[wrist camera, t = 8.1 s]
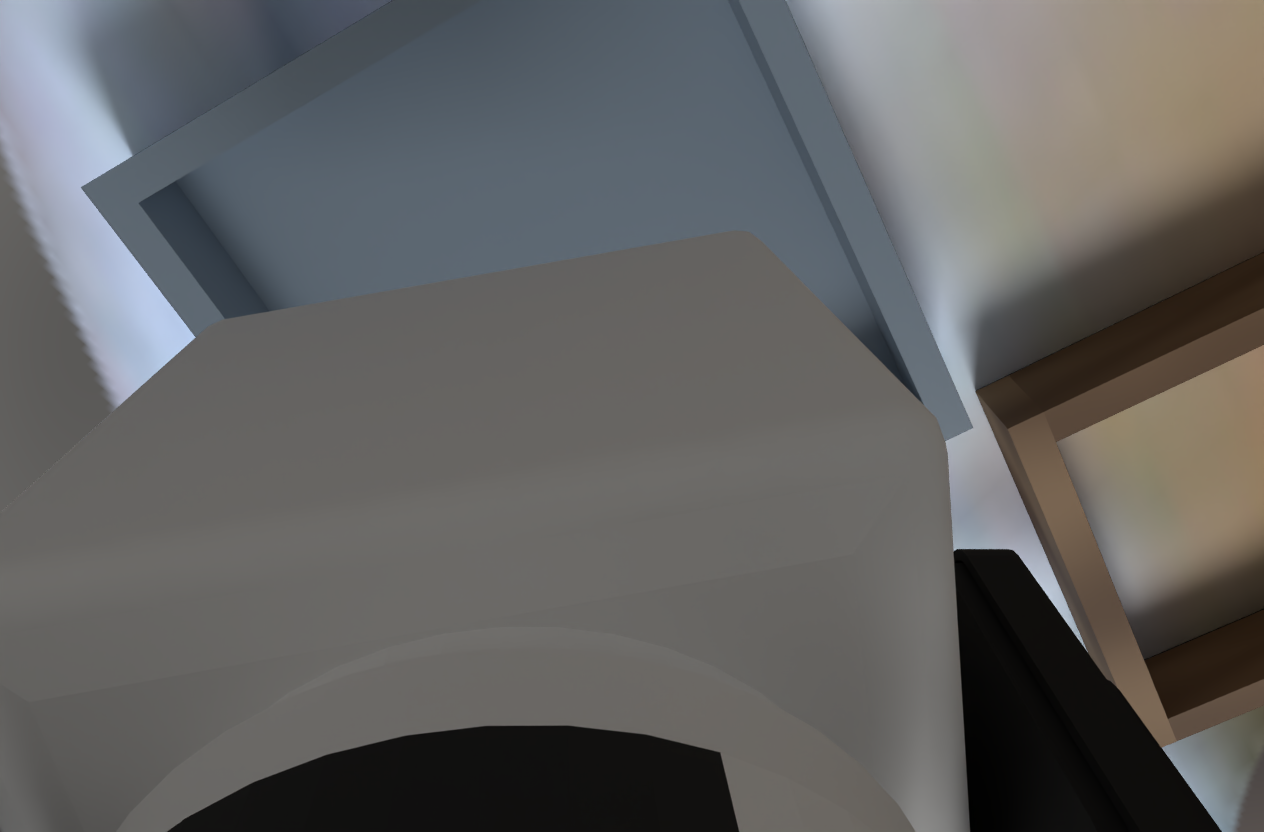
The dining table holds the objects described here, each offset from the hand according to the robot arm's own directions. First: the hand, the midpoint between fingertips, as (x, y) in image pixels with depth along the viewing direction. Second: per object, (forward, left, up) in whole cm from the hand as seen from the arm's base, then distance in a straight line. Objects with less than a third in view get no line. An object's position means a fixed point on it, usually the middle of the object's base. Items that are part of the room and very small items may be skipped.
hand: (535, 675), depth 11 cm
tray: (0, 0, -13) cm, 13 cm away
